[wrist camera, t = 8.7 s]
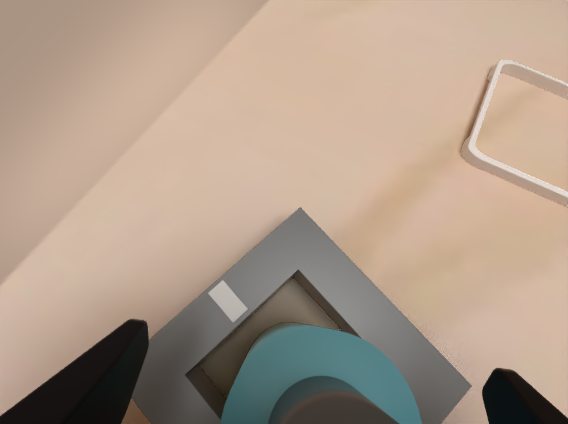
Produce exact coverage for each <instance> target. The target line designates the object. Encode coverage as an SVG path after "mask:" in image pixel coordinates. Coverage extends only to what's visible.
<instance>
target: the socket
mask: <svg viewBox="0 0 568 424" xmlns="http://www.w3.org/2000/svg"><path fill="white" fill-rule="evenodd" d="M293 277H294V278H295V279H296V280H297V281H298V282H299V283H300V284H301V286H302V287H303V288H304V289H305V290H306V291H307V292H308V293H309V294H310V295H311V297H312V298H313V299H314V300H315V301H316V302H317V303H318V304H319V305H320V306H321V307H322V309H323V310H324V311H325V312H326V313H327V314H328V315H329V316H330V317H331V318H332V320H333V321H334V322H335V323H336V324H337V325H338V326H339V327H340V328H341V329H342V331H343V332H346V333H349V334H352V335H354V336H357V337H359V338H361V339H363V340H365V341H367V342H368V343H370V344H372V345H373V346H374V347H376V348H377V349H379V350H380V351H381V352H382V353H383V354H384V355H385V356H386V357H388V358H389V359H390V360H391V361H392V363H393V364H394V365H395V366H396V367H397V369H398V370H399V371H400V373H401V374H402V376H403V377H404V379H405V380H406V382H407V383H408V385H409V387H410V389H411V391H412V393H413V395H414V398H415V401H416V404H417V406H418V409H419V413H420V417H421V422H422V424H441V423H442V421H443V420H444V419H445V418H446V417H447V415H448V414H449V413H450V412H451V411H452V409H453V408H454V407H455V406H456V405H457V403H458V402H459V401H460V400H461V399H462V397H463V396H464V395H465V394H466V392H467V391H468V390H469V389H470V388H471V385H470V384H469V382H468V381H467V380H466V379H465V378H464V377H463V376H462V375H461V374H460V373H459V372H458V371H457V370H456V369H455V368H454V367H453V366H452V365H451V364H450V363H449V362H448V361H447V360H446V358H445V357H444V356H443V355H442V354H441V353H440V352H439V351H438V350H437V349H436V348H435V347H434V346H433V345H432V344H431V343H430V342H429V341H428V340H427V339H426V338H425V337H424V336H423V335H422V333H421V332H420V331H419V330H418V329H417V328H416V327H415V326H414V325H413V324H412V323H411V322H410V321H409V320H408V319H407V318H406V317H405V316H404V315H403V314H402V313H401V312H400V311H399V310H398V308H397V307H396V306H395V305H394V304H393V303H392V302H391V301H390V300H389V299H388V298H387V297H386V296H385V295H384V294H383V293H382V292H381V291H380V290H379V289H378V288H377V287H376V286H375V285H374V283H373V282H372V281H371V280H370V279H369V278H368V277H367V276H366V275H365V274H364V273H363V272H362V271H361V270H360V269H359V268H358V267H357V266H356V265H355V264H354V263H353V262H352V261H351V260H350V258H349V257H348V256H347V255H346V254H345V253H344V252H343V251H342V250H341V249H340V248H339V247H338V246H337V245H336V244H335V243H334V242H333V241H332V240H331V239H330V238H329V237H328V236H327V235H326V233H325V232H324V231H323V230H322V229H321V228H320V227H319V226H318V225H317V224H316V223H315V222H314V221H313V220H312V219H311V218H310V217H309V216H308V215H307V214H306V213H305V212H304V211H303V210H302V208H301V207H300V208H299V209H298V210H297V211H295V212H294V213H293V214H292V215H291V216H290V217H289V218H287V219H286V220H285V221H284V222H283V223H282V224H281V225H280V226H278V227H277V228H276V229H275V230H274V231H273V232H272V233H270V234H269V235H268V236H267V237H266V238H265V239H264V240H262V241H261V242H260V243H259V244H258V245H257V246H256V247H254V248H253V249H252V250H251V251H250V252H249V253H248V254H246V255H245V256H244V257H243V258H242V259H241V260H240V261H238V262H237V263H236V264H235V265H234V266H233V267H232V268H231V269H229V270H228V271H227V272H226V273H225V274H224V275H223V276H221V277H220V278H219V279H218V280H217V281H216V282H215V283H213V284H212V285H211V286H210V287H209V288H208V289H207V290H205V291H204V292H203V293H202V294H201V295H200V296H199V297H197V298H196V299H195V300H194V301H193V302H192V303H191V304H190V305H188V306H187V307H186V308H185V309H184V310H183V311H182V312H180V313H179V314H178V315H177V316H176V317H175V318H174V319H172V320H171V321H170V322H169V323H168V324H167V325H166V326H164V327H163V328H162V329H161V330H160V331H159V332H158V333H156V334H155V335H154V336H153V337H152V338H151V339H150V340H149V347H148V351H147V354H146V357H145V360H144V363H143V366H142V369H141V371H140V374H139V377H138V380H137V383H136V386H135V389H134V391H133V394H132V397H131V398H132V399H133V400H134V402H135V403H136V404H137V406H138V407H139V408H140V410H141V411H142V412H143V414H144V415H145V416H146V418H147V419H148V420H149V422H150V423H151V424H220V423H221V418H222V414H223V410H224V406H225V403H226V399H225V398H224V396H223V395H222V394H221V393H220V391H219V390H218V389H217V388H216V386H215V385H214V384H213V383H212V381H211V380H210V379H209V378H208V376H207V375H206V374H205V373H204V371H203V370H202V369H201V368H200V366H199V364H201V363H202V362H203V361H204V360H205V359H206V358H207V357H208V356H209V355H210V354H211V353H212V352H213V351H214V350H216V349H217V348H218V347H219V346H220V345H221V344H222V343H223V342H224V341H225V340H226V339H227V338H228V337H229V336H231V335H232V334H233V333H234V332H235V331H236V330H237V329H238V328H239V327H240V326H241V325H242V324H243V323H244V322H246V321H247V320H248V319H249V318H250V317H251V316H252V315H253V314H254V313H255V312H256V311H257V310H258V309H260V308H261V307H262V306H263V305H264V304H265V303H266V302H267V301H268V300H269V299H270V298H271V297H272V296H273V295H275V294H276V293H277V292H278V291H279V290H280V289H281V288H282V287H283V286H284V285H285V284H286V283H287V282H288V281H290V280H291V279H292V278H293Z"/></svg>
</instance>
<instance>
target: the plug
mask: <svg viewBox="0 0 568 424" xmlns="http://www.w3.org/2000/svg"><path fill="white" fill-rule="evenodd" d="M220 424H422V422H421V417H420V413H419V409H418V406H417V404H416V401H415V398H414V395H413V393H412V391H411V389H410V387H409V385H408V383H407V382H406V380H405V379H404V377H403V376H402V374H401V373H400V371H399V370H398V369H397V367H396V366H395V365H394V364H393V363H392V361H391V360H390V359H389V358H388V357H386V356H385V355H384V354H383V353H382V352H381V351H380V350H379V349H377V348H376V347H374V346H373V345H372V344H370V343H368V342H367V341H365V340H363V339H361V338H359V337H357V336H354V335H352V334H349V333H346V332H342V331H338V330H333V329H328V328H323V327H317V326H312V325H307V324H301V323H294V322H286V323H280V324H277V325H274V326H272V327H270V328H268V329H267V330H265V331H264V332H263V333H261V334H260V335H259V336H258V337H257V339H256V340H255V341H254V343H253V344H252V346H251V348H250V350H249V352H248V354H247V356H246V358H245V360H244V362H243V364H242V367H241V369H240V371H239V373H238V375H237V377H236V379H235V381H234V384H233V386H232V388H231V390H230V392H229V395H228V397H227V400H226V403H225V406H224V410H223V414H222V418H221V423H220Z"/></svg>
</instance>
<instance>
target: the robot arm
mask: <svg viewBox="0 0 568 424" xmlns="http://www.w3.org/2000/svg"><path fill="white" fill-rule="evenodd" d="M148 347H149V338H148V326H147V322H146V321H144V320H138V319H130V320H128V321H126V322H125V323H123V324H122V325H121V326H119V327H118V328H117V329H115V330H114V331H113V332H112V333H110V334H109V335H108V336H106V337H105V338H104V339H102V340H101V341H100V342H98V343H97V344H96V345H94V346H93V347H92V348H90V349H89V350H88V351H86V352H85V353H84V354H82V355H81V356H80V357H78V358H77V359H76V360H74V361H73V362H72V363H70V364H69V365H68V366H66V367H65V368H64V369H62V370H61V371H60V372H58V373H57V374H56V375H54V376H53V377H52V378H50V379H49V380H48V381H46V382H45V383H44V384H42V385H41V386H40V387H38V388H37V389H36V390H34V391H33V392H32V393H30V394H29V395H28V396H26V397H25V398H24V399H22V400H21V401H20V402H18V403H17V404H16V405H14V406H13V407H12V408H10V409H9V410H8V411H6V412H5V413H4V414H2V415H1V416H0V424H121V422H122V420H123V418H124V415H125V413H126V411H127V408H128V405H129V403H130V400H131V397H132V394H133V391H134V389H135V386H136V383H137V380H138V377H139V374H140V371H141V369H142V366H143V363H144V360H145V357H146V354H147V351H148ZM482 396H483V401H484V405H485V409H486V413H487V417H488V421H489V424H568V418H567V417H566V416H565V415H564V414H562V413H561V412H560V411H559V410H558V409H557V408H556V407H555V406H553V405H552V404H551V403H550V402H549V401H548V400H547V399H546V398H544V397H543V396H542V395H541V394H540V393H539V392H538V391H537V390H535V389H534V388H533V387H532V386H531V385H530V384H529V383H528V382H526V381H525V380H524V379H523V378H522V377H521V376H520V375H519V374H517V373H516V372H515V371H513V370H510V369H503V368H496V369H494V370H493V372H492V373H491V375H490V377H489V378H488V380H487V382H486V383H485V385H484V387H483V390H482Z"/></svg>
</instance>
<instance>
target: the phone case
mask: <svg viewBox="0 0 568 424" xmlns="http://www.w3.org/2000/svg"><path fill="white" fill-rule="evenodd" d="M500 73H502V74H507V75H510V76H513V77H515V78H518V79H520V80H522V81H525V82H527V83H530V84H532V85H534V86H537V87H539V88H542V89H544V90H546V91H549V92H551V93H554V94H556V95H559V96H561V97H563V98H566V99H568V83H566V82H563V81H561V80H559V79H556V78H554V77H551V76H549V75H546V74H544V73H542V72H539V71H537V70H534V69H532V68H529V67H527V66H525V65H522V64H520V63H517V62H514V61H511V60H500V61H498V63H497V64H496V65H495V66H494V67H493V68H492V69H491V71H490V73H489V76H488V79H487V80H488V81H490V82H489V85H488V88H487V90H486V93H485V96H484V99H483V101H482V104H481V107H480V110H479V112H478V115H477V118H476V121H475V123H474V126H473V129H472V132H471V135H470V136H469V137H468V138H467V139H466V140H465V141H464V144H463V147H462V149H461V155H462V157H463V158H464V159H465V160H466V161H467V162H468V163H470V164H471V165H473V166H475V167H477V168H480V169H482V170H484V171H486V172H489V173H491V174H493V175H496V176H498V177H500V178H502V179H505V180H507V181H509V182H511V183H514V184H516V185H518V186H521V187H523V188H525V189H527V190H530V191H532V192H534V193H536V194H539V195H541V196H543V197H546V198H548V199H550V200H552V201H555V202H557V203H559V204H561V205H564V206H566V207H568V192H567V191H565V190H562V189H560V188H558V187H555V186H553V185H551V184H549V183H546V182H544V181H542V180H539V179H537V178H535V177H533V176H530V175H528V174H526V173H523V172H521V171H519V170H517V169H514V168H512V167H510V166H507V165H505V164H503V163H501V162H498V161H496V160H494V159H491V158H489V157H487V156H486V155H484V154H482V153H481V152H480V151H479V150H478V149H477V148H476V146H475V142H476V139H477V136H478V133H479V130H480V128H481V125H482V122H483V119H484V116H485V114H486V111H487V108H488V105H489V102H490V99H491V97H492V94H493V91H494V88H495V85H496V83H497V80H498V77H499V74H500Z"/></svg>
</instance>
